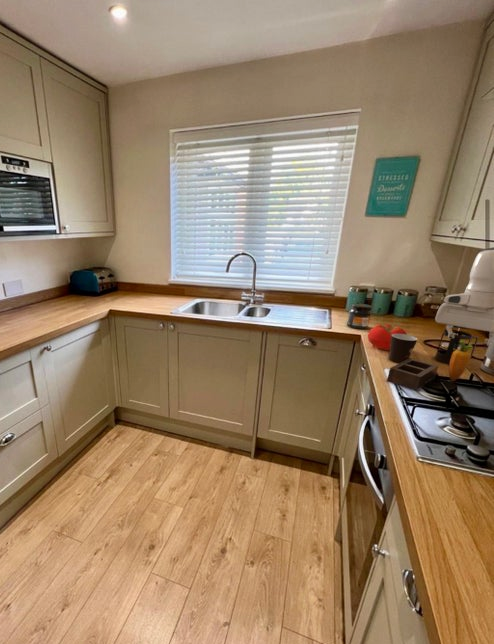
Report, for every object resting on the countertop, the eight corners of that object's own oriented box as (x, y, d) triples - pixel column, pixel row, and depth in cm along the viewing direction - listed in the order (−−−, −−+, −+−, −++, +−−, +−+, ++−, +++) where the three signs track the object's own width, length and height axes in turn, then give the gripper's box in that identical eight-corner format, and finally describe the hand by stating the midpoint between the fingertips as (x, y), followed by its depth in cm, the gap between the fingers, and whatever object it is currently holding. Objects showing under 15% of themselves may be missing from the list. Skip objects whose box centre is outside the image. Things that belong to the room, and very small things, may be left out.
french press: (429, 359, 134) (446, 303, 126) (435, 354, 140) (452, 301, 132) (465, 368, 126) (486, 309, 118) (470, 363, 132) (491, 306, 124)
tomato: (407, 348, 147) (413, 326, 144) (397, 356, 136) (403, 333, 133) (373, 340, 157) (377, 320, 153) (360, 347, 146) (365, 326, 142)
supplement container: (367, 330, 172) (372, 308, 168) (345, 327, 177) (349, 305, 173) (368, 326, 180) (373, 304, 176) (347, 323, 185) (351, 302, 181)
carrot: (460, 380, 115) (474, 340, 110) (462, 386, 111) (477, 344, 106) (442, 377, 118) (455, 337, 112) (444, 382, 114) (458, 341, 108)
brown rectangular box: (434, 378, 116) (438, 365, 114) (416, 391, 107) (420, 377, 105) (406, 370, 123) (409, 358, 121) (386, 381, 113) (390, 367, 112)
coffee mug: (398, 365, 127) (405, 341, 124) (380, 357, 135) (386, 334, 131) (421, 363, 130) (429, 339, 127) (402, 355, 138) (408, 332, 135)
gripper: (528, 303, 98) (512, 347, 103) (445, 294, 114) (435, 333, 118) (523, 306, 95) (507, 351, 99) (439, 296, 110) (429, 336, 115)
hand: (467, 341), depth 109 cm, fingers open, 8 cm apart
